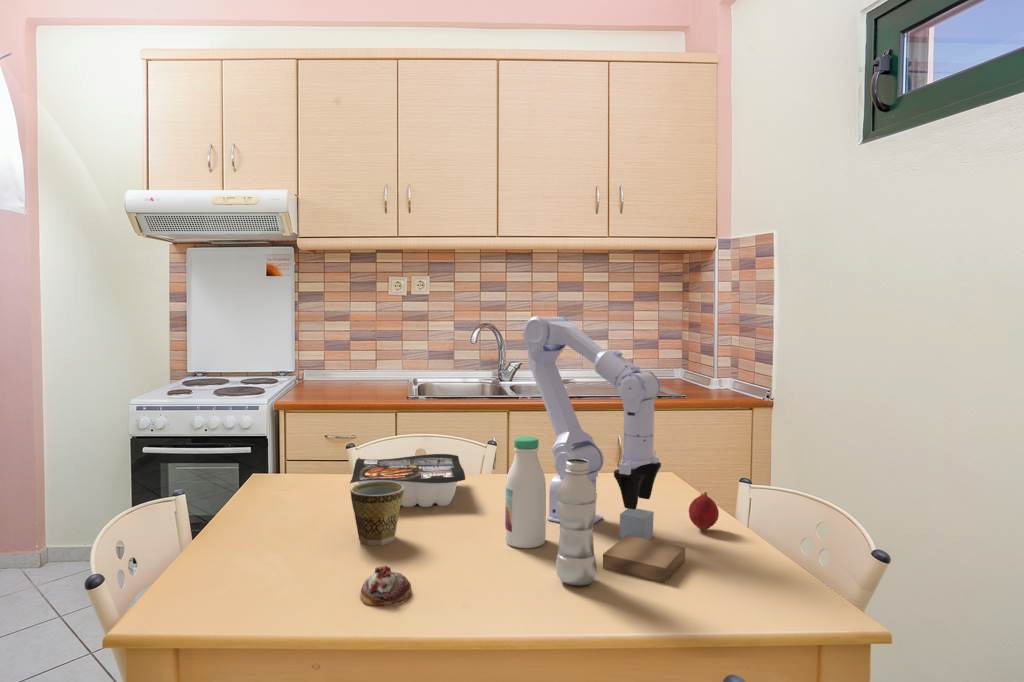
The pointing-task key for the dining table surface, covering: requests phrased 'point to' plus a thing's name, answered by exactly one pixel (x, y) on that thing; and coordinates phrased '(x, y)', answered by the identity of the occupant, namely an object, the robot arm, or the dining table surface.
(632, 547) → the base
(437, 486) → the food packaging
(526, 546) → the milk bottle
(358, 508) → the ceramic cup
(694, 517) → the onion
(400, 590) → the pastry
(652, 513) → the cube
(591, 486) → the plastic bottle
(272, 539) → the dining table surface
